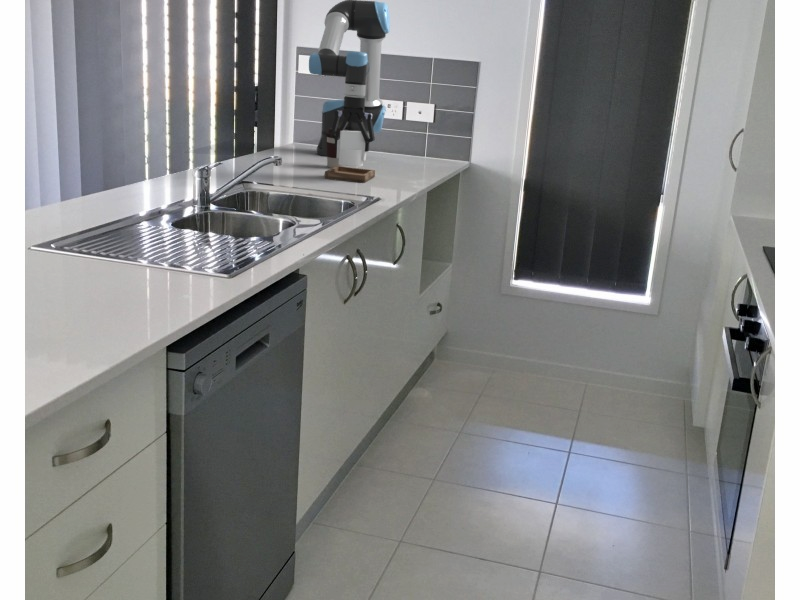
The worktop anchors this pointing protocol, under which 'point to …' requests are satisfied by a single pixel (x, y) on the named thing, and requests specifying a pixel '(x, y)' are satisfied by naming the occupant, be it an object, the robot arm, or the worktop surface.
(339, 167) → the tray
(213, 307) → the worktop surface
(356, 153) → the white box
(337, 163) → the coffee cup
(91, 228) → the worktop surface
